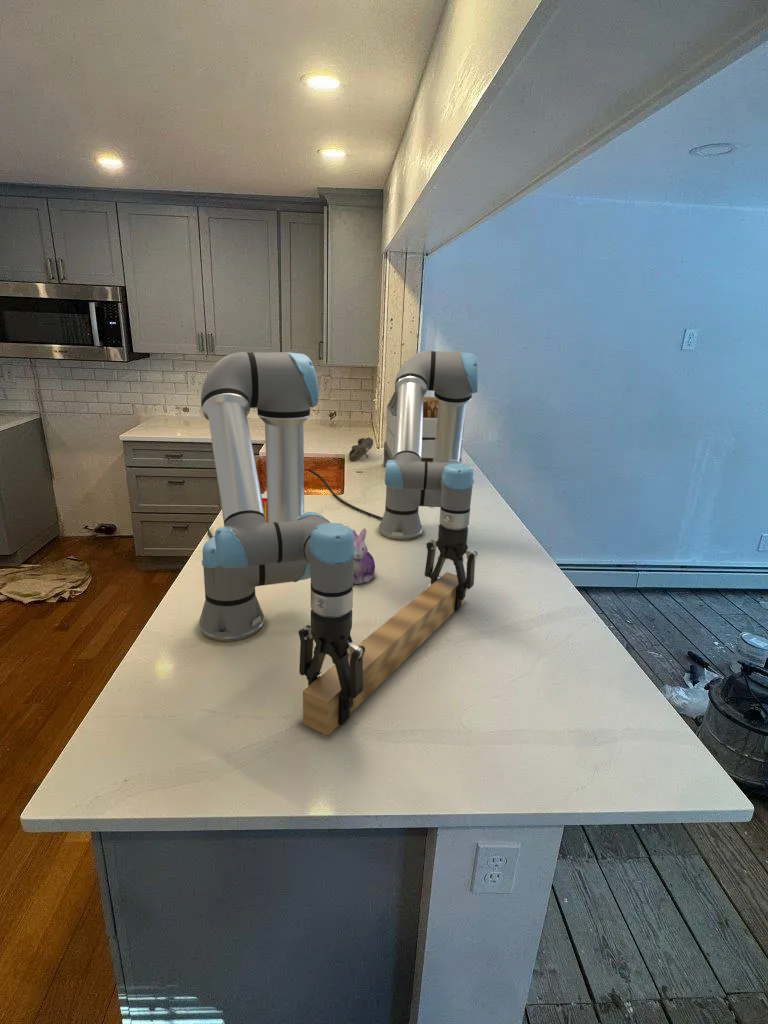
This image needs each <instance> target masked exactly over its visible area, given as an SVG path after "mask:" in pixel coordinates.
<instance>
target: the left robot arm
mask: <svg viewBox="0 0 768 1024" xmlns="http://www.w3.org/2000/svg"><path fill="white" fill-rule="evenodd" d="M318 382H319V381H318V376H317V372H316V369H315V366H314V364H313V361H312V360H311V359H310V357H309V356H307V355H306V354H304V353H298V352H289V351H287V352H286V351H283V352H280V351H279V352H277V351H276V352H248V351H238V352H233V353H230V354H227V355H226V356H224V357H223V358H221V359H220V360H218V361H217V362H216V363H215V364H214V365H213V366H212V368H211V370H210V371H209V372H208V374H207V375H206V377H205V379H204V382H203V385H202V388H201V393H200V407H201V412H202V415H203V417H204V418H205V419H206V420H207V421H208V424H209V425H208V426H209V431H210V437H211V444H212V445H211V446H212V451H213V458H214V466H215V472H216V478H217V485H218V493H219V499H220V507H221V511H222V512H221V513H222V520H223V525H224V526H221V527H218V528H216V529H215V530H214V535H213V534H212V533H211V531H210V527H209V525H206V531H207V534H208V536H209V539H208V540H206V542H204V544H203V546H202V560H201V566H202V567H203V568H202V569H203V582H204V596H205V599H204V604H203V607H202V610H201V614H200V617H199V622H198V627H199V632H200V634H201V635H202V636H203V637H204V638H205V639H208V640H210V641H213V642H216V643H217V642H218V643H219V642H220V643H237V642H241V641H244V640H248V639H250V638H252V637H254V636H256V635H257V634H258V633H260V632H261V631H262V630H263V628H264V626H265V615H264V613H263V610H262V608H261V607H262V606H261V605H260V603H259V600H258V598H257V596H256V595H257V594H256V587H262V586H269V585H277V584H285V583H297V582H299V581H303V580H304V581H305V580H309V579H310V625H309V624H306V625H305V626H304V627H302V628H301V629H299V630H298V636H299V642H300V646H299V667H298V672H299V675H301V676H305V677H306V680H307V687H308V686H309V685H310V684H311V683H313V682H314V681H315V680H316V679H318V678H319V677H320V676H321V674H322V671H321V670H322V667H323V664H324V662H325V659H326V655H327V656H329V657H331V661H332V664H333V665H335V666H336V670H337V674H338V678H339V682H340V686H341V690H342V693H341V694H340V695H339V711H338V724H339V725H340V726H342V725H344V724H345V723H346V722H347V721H348V720H349V719H350V717H351V716H350V715H351V714H350V709H351V708H352V706H353V698H356V697H357V696H358V695H359V694H360V693H361V692H362V691H363V655H364V652H365V647H364V646H360V647H358V645H357V644H355V643H354V642H353V638H352V636H351V631H352V628H353V608H354V607H353V605H354V583H353V570H354V553H355V545H354V534H353V531H352V530H353V529H352V528H350V526H348V525H344V524H343V523H339V522H331V521H329V520H328V519H327V518H326V517H324V516H323V515H322V514H320V513H318V512H315V511H308V512H305V455H304V454H305V453H304V452H305V450H304V448H305V447H304V445H305V443H304V441H305V439H304V424H305V422H306V421H307V420H308V419H309V418H310V417H311V408H314V407H316V406H317V405H318V404H319V398H320V394H319V393H320V391H319V390H320V389H319V383H318ZM251 409H257V411H256V412H257V417H258V418H260V420H262V421H263V423H264V438H265V439H264V440H265V468H266V469H265V470H266V490H267V507H268V523H266V520H265V513H264V508H263V502H262V497H261V495H262V492H261V486H260V481H259V476H258V475H259V474H258V471H257V465H256V459H255V454H254V447H253V443H252V438H251V437H252V436H251V433H250V427H249V420H248V415H249V414H250V412H251ZM314 643H315V646H314ZM349 652H350V655H349ZM348 656H349V657H350V665H349V661H348ZM339 725H338V726H339Z"/></svg>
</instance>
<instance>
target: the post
mask: <svg viewBox="0 0 768 1024" xmlns="http://www.w3.org/2000/svg"><path fill="white" fill-rule="evenodd" d="M438 578H439V579H438ZM438 578H437V579H438V580H436V581H435V582H434V583H433V584H432V585H431V584H430V585H429V586H428V587H426V588H425V589H424V590H422V592H421V593H419V594H418V595H417V596H416V597H415V598H413V599H412V600H411V601H410V602H408V603H407V604H406V605H405V606H403V607H402V608H401V609H400V610H399V611H397V612H396V613H394V615H393V616H392V617H390V618H389V619H388V620H386V621H385V622H384V623H383V624H382V625H381V626H380V627H378V628H377V629H375V630H374V631H373V632H372V633H371V634H370V635H368V636H366V638H364V639H363V640H362V641H361V642H360V643H359V644H357V646H358V647H360V646H364V647H365V652H364V655H363V691H362V692H361V693H360V694H359V695H358V696H357V697H356V698H353V706H352V708H351V709H350V715H351V714H352V713H353V712H354V711H355V710H356V709H357V708H358V707H359V706H360V705H361V704H362V703H363V702H364V701H366V699H367V698H368V697H370V695H371V694H372V693H373V692H374V691H375V690H376V689H377V688H378V687H379V686H381V684H382V683H383V682H384V681H386V679H387V678H388V677H390V676H391V675H392V674H393V673H394V671H396V670H397V669H398V668H399V667H400V666H401V665H402V664H403V663H404V662H405V661H406V660H407V659H408V658H409V657H410V656H411V655H412V654H413V653H414V652H415V651H416V650H417V649H418V648H419V647H420V646H421V645H422V644H423V643H424V642H426V640H427V639H428V638H430V636H431V635H432V634H433V633H434V632H435V631H436V630H437V629H438V628H439V627H441V625H443V624H444V623H445V622H446V621H447V619H449V618H450V617H451V616H452V615H453V614H454V613H455V612H456V611H454V608H455V597H456V589H457V588H458V587H459V584H458V578H457V574H456V573H451V572H448V571H446V572H445V573H443V575H441V576H439V577H438ZM464 600H465V598H464V599H463V600H462V603H461V606H462V605H463V604H464ZM348 653H349V655H350V651H348ZM348 661H349V665H350V657H349V656H348ZM319 676H320V677H319ZM319 676H318V677H319V678H318V679H316V680H315V681H314V682H313V683H311V684H310V685H309V686H308V685H307V687H305V688H304V689H303V690H302V724H303V725H304V726H306V727H308V728H311V729H312V730H315V731H316V732H318V733H321V734H322V735H324V736H326V737H328V736H329V735H330V734H332V733H333V731H335V729H337V728H338V727H339V724H338V711H339V695H340V694H341V693H342V690H341V686H340V682H339V678H338V674H337V670H336V666H335V664H333V665H332V666H331V667H329V668H328V669H327V670H325V672H324V673H321V674H320V675H319Z"/></svg>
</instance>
